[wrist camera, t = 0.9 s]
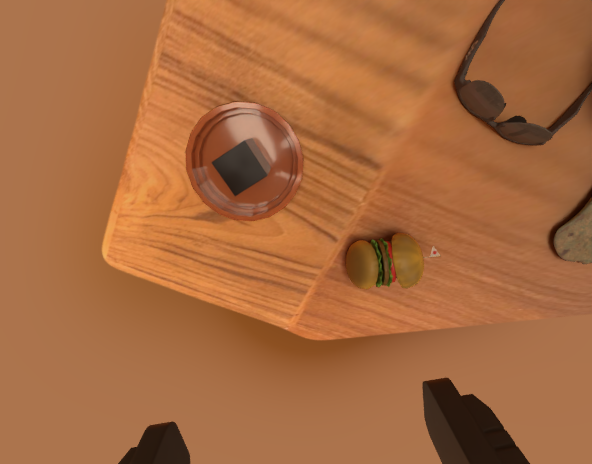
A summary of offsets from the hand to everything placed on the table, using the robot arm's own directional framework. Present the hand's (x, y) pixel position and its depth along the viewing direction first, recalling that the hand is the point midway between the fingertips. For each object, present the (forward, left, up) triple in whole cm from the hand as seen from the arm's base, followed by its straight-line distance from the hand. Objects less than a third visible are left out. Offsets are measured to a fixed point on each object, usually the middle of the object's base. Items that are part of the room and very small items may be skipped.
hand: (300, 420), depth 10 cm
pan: (-7, -3, -34) cm, 35 cm away
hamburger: (+12, +1, -31) cm, 33 cm away
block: (-7, -3, -34) cm, 35 cm away
